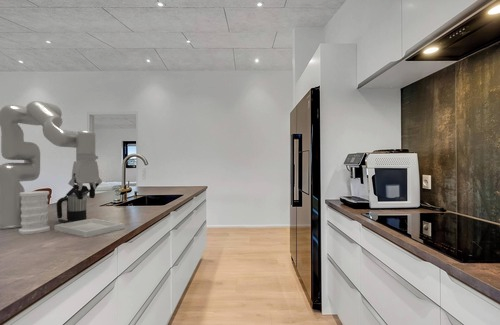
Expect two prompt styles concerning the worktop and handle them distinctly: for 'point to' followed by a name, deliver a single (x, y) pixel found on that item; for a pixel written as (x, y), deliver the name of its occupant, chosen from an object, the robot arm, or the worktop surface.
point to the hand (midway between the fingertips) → (86, 198)
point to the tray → (89, 227)
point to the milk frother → (72, 209)
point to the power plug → (74, 191)
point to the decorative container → (34, 212)
